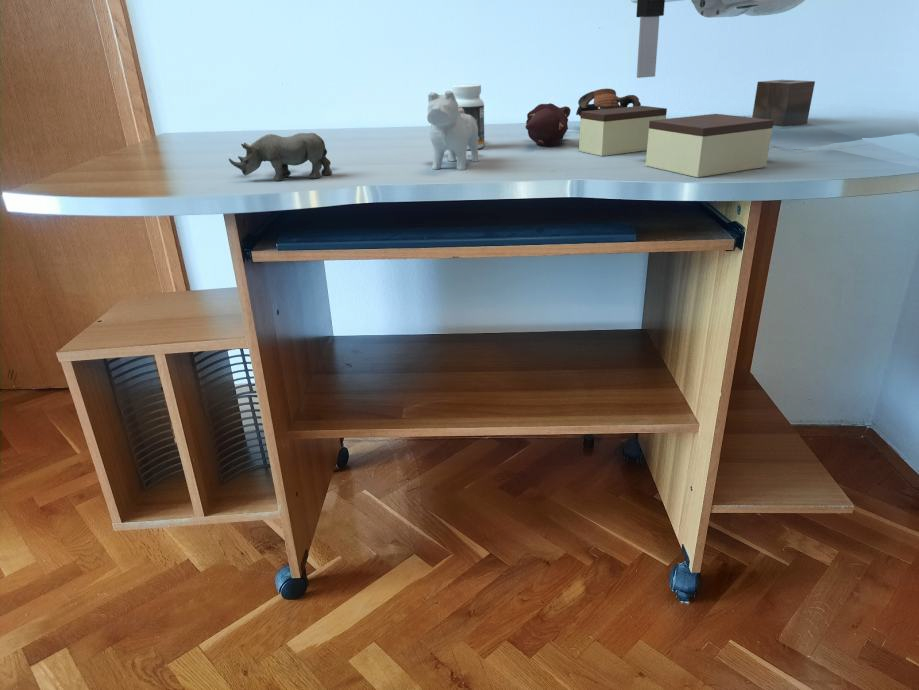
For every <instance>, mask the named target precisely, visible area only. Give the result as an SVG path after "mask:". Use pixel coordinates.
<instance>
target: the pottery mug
mask: <svg viewBox="0 0 919 690" xmlns="http://www.w3.org/2000/svg"><path fill="white" fill-rule="evenodd" d="M591 101H593V103H591ZM577 103H578V107H577V110H576V112H575V115H576V116H579V117H580V116H581V111H592V110H602V109H612V108H623V107H629V105H630V104H632V107H633V106H642V105H641V104H642V103H641V101H640V98H639V97H638V96H637V95H634V94H628V95H624V96H621V97H619V96H618V95H617V92H616V90H615V89H613V88H600V89H596V90H593V91H589V92H587V93H585V94H583V95H582V96H580V98H579V99H578V101H577Z"/></svg>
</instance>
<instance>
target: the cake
mask: <svg viewBox="0 0 919 690" xmlns="http://www.w3.org/2000/svg"><path fill="white" fill-rule="evenodd" d="M773 123H774V120H768V119H759V118H752V117H750V116H740V115H733V114H732V115H730V114H724V113H723V114H722V113H709V114H699V115H691V116H682V117H681V116H680V117H673V118H666V119H662V120H652V121H650V122H649V133H648V144H647V150H646V156H645V158H646V159H645V166H646V167H649V168H654V169H657V170H658V169H659V170H662V171H666V172H671V173H675V174H679V175H680V174H681V175H685V176H689V177H694V178H704V177H710V176H711V177H712V176H715V175H716V176H717V175H723V174H730V173H736V172H742V171H749V170H755V169H763V168H766V167H767V163H768V157H769V150H770V146H771V140H772V133H773V128H774V126H773Z"/></svg>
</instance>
